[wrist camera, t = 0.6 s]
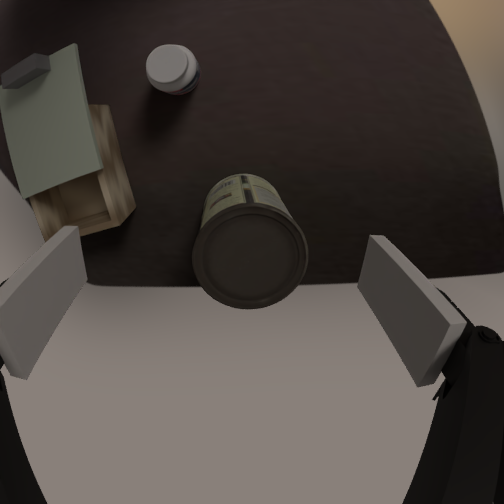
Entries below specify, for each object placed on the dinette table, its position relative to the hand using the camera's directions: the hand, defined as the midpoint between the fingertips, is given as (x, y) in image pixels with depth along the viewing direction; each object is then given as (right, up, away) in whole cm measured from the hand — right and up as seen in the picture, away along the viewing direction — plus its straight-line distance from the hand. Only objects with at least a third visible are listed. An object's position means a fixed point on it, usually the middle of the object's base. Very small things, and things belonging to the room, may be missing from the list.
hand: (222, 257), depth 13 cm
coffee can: (0, +5, +27) cm, 28 cm away
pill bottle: (-7, +21, +19) cm, 30 cm away
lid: (-21, +14, +13) cm, 29 cm away
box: (-20, +11, +23) cm, 32 cm away
